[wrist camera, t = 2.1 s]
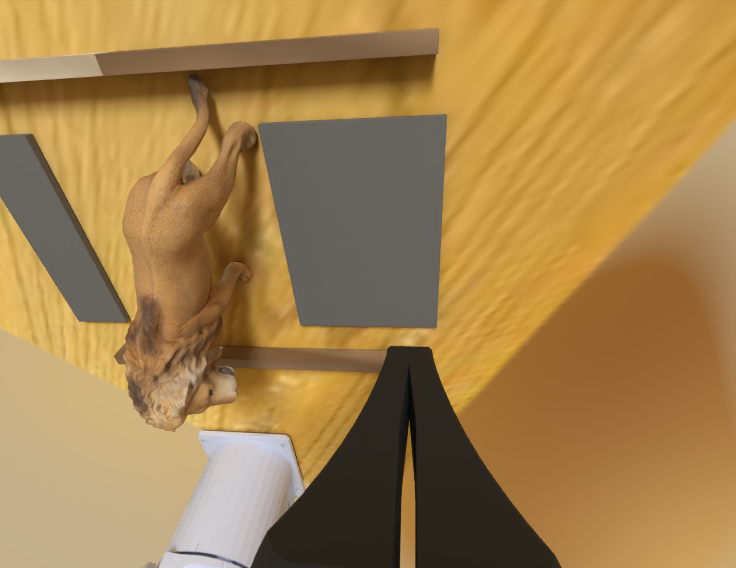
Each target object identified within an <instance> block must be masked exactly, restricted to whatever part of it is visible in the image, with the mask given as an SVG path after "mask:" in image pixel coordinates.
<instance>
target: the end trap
mask: <svg viewBox="0 0 736 568" xmlns="http://www.w3.org/2000/svg"><path fill="white" fill-rule="evenodd" d="M0 197H1V199H2V200H3V202H4V203H5V205H6V207H7V208H8V210H9V211H10V213H11V214H12V216H13V218H14V219H15V221H16V222H17V224H18V226H19V227H20V229H21V230H22V232H23V233H24V235H25V237H26V238H27V240H28V241H29V243H30V245H31V246H32V248H33V249H34V251H35V252H36V254H37V256H38V257H39V259H40V260H41V262H42V264H43V265H44V267H45V268H46V270H47V271H48V273H49V275H50V276H51V278H52V279H53V281H54V282H55V284H56V286H57V287H58V289H59V290H60V292H61V294H62V295H63V297H64V298H65V300H66V301H67V303H68V305H69V306H70V308H71V309H72V311H73V313H74V314H75V316H76V317H77V319H78V320H79V321H83V322H127V321H128V320H129V319H130V318H129V316H128V314H127V312H126V310H125V308H124V306H123V304H122V303H121V301H120V299H119V297H118V295H117V293H116V291H115V289H114V287H113V286H112V284H111V282H110V280H109V278H108V276H107V274H106V272H105V271H104V269H103V267H102V265H101V263H100V261H99V259H98V257H97V256H96V254H95V252H94V250H93V248H92V246H91V244H90V242H89V241H88V239H87V237H86V235H85V233H84V231H83V229H82V227H81V226H80V224H79V222H78V220H77V218H76V216H75V214H74V212H73V211H72V209H71V207H70V205H69V203H68V201H67V199H66V197H65V196H64V194H63V192H62V190H61V188H60V186H59V184H58V182H57V180H56V179H55V177H54V175H53V173H52V171H51V169H50V167H49V165H48V164H47V162H46V160H45V158H44V156H43V154H42V152H41V150H40V149H39V147H38V145H37V143H36V141H35V139H34V137H33V135H32V134H18V135H0Z"/></svg>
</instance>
